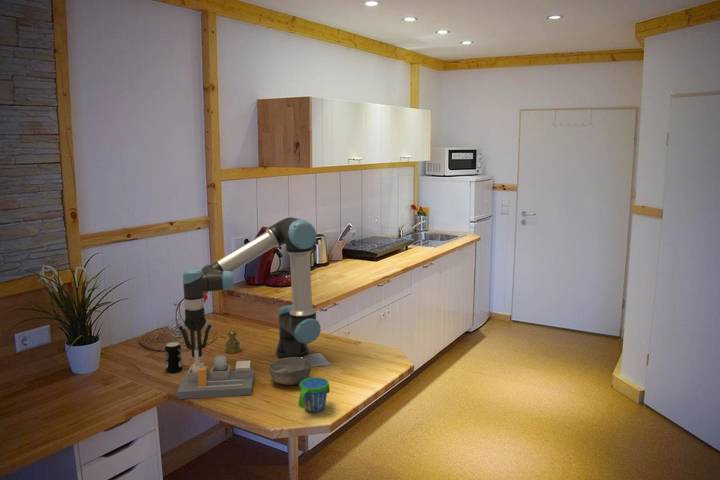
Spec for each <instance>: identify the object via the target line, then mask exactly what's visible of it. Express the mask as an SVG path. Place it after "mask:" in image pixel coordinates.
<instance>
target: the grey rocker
mask: <svg viewBox="0 0 720 480" xmlns="http://www.w3.org/2000/svg"><path fill="white" fill-rule="evenodd" d="M250 368H251V360H237V361H236V362H235V371H236V372H239V371H250Z"/></svg>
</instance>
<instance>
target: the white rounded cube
mask: <svg viewBox="0 0 720 480" xmlns="http://www.w3.org/2000/svg"><path fill="white" fill-rule="evenodd" d="M204 366H205V363H203V362H200V364H199V365H198V366H195V362H194V363H192V364H191V367H192V373H195V372H198V368H199V367H204Z"/></svg>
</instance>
